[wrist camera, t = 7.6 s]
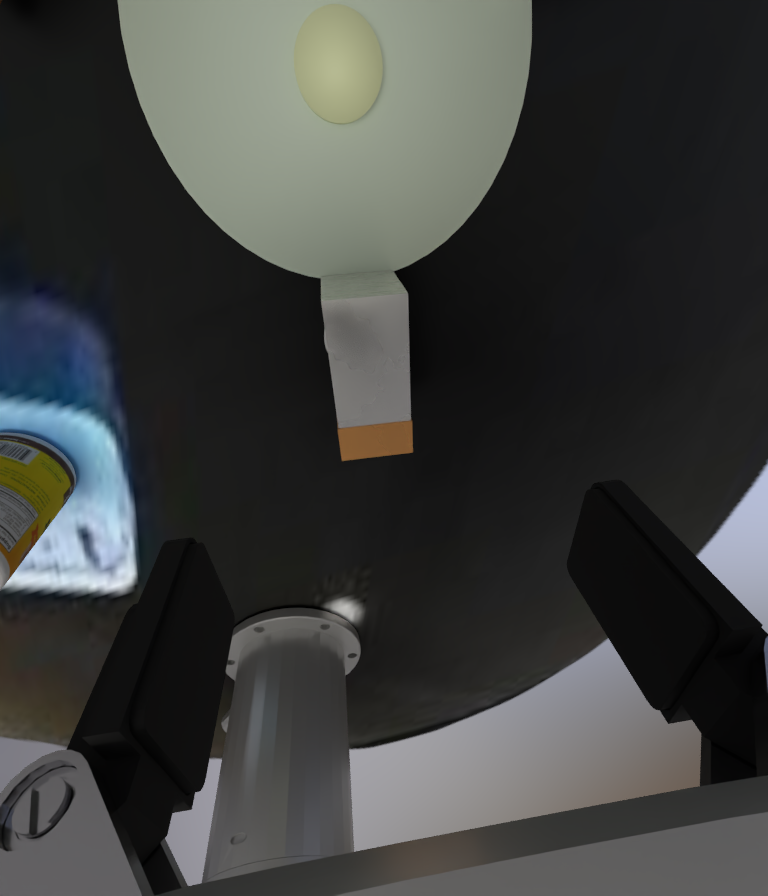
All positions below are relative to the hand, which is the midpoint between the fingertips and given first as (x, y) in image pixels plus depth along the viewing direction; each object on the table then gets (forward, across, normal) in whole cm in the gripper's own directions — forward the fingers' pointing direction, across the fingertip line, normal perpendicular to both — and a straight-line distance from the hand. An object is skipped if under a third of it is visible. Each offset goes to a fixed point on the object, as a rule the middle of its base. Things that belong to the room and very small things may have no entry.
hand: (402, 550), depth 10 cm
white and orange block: (+16, 0, 0) cm, 16 cm away
